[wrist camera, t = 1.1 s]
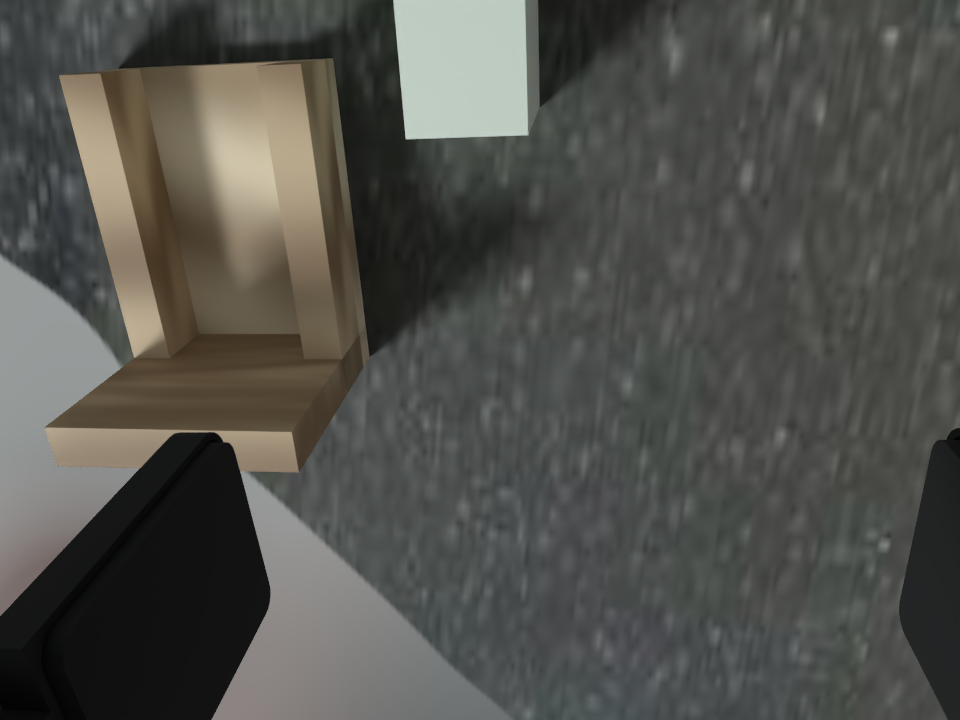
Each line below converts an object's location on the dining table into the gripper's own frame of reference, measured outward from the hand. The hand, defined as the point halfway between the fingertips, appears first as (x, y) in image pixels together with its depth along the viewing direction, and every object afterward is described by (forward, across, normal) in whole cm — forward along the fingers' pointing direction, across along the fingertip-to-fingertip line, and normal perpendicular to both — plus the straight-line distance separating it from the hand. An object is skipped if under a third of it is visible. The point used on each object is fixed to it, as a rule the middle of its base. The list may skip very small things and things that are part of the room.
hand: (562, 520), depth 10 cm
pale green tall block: (+20, +3, -7) cm, 22 cm away
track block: (+20, +13, +1) cm, 24 cm away
